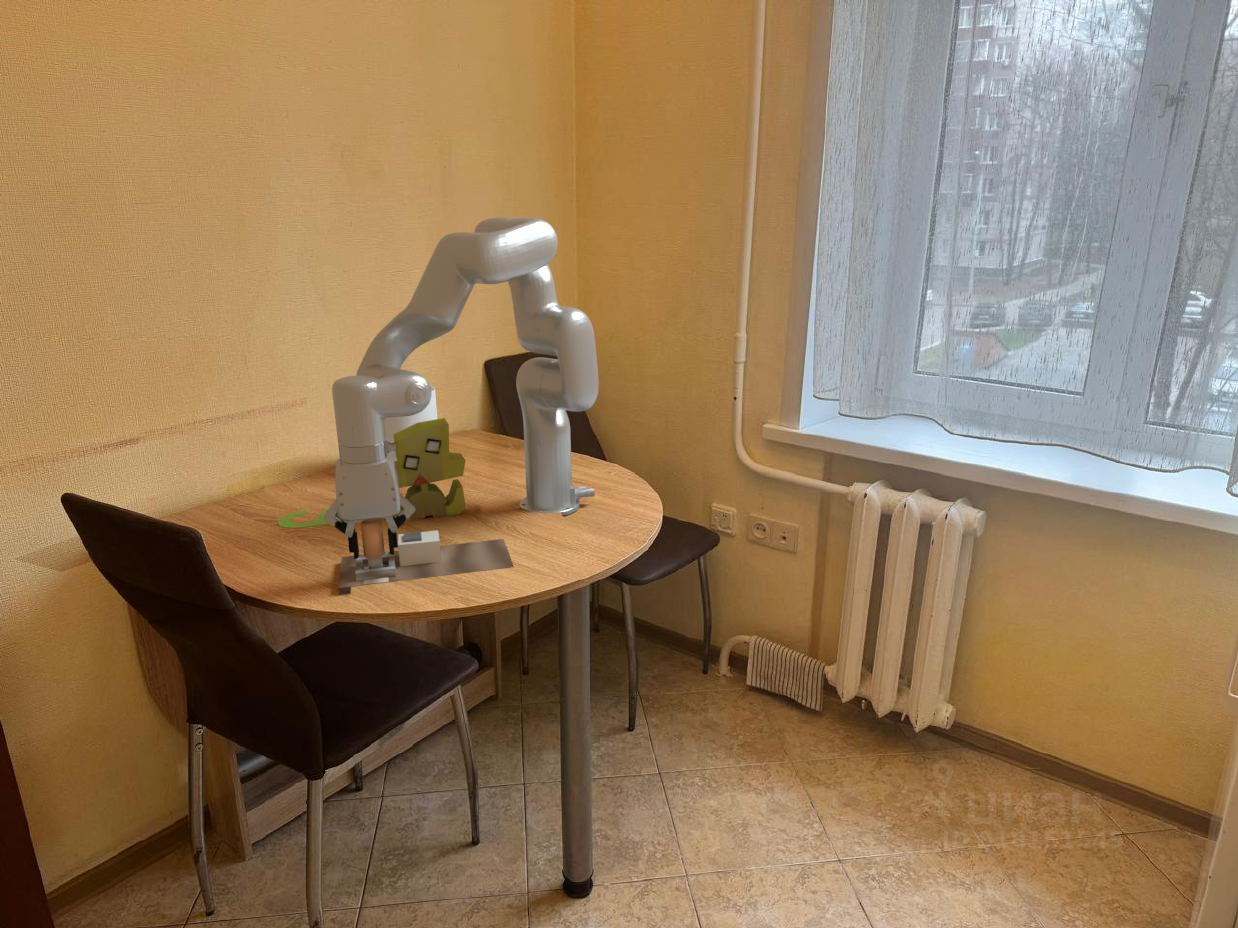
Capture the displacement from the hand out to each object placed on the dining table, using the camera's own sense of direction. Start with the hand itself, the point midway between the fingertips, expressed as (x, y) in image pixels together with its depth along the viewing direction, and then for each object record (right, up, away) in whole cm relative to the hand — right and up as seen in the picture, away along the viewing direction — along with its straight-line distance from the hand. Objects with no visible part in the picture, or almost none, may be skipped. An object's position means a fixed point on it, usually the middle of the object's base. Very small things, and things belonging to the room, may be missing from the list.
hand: (374, 552), depth 141 cm
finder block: (+6, -2, +6) cm, 9 cm away
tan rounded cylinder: (0, -3, +1) cm, 3 cm away
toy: (+3, +4, +28) cm, 28 cm away
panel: (+8, -3, +5) cm, 10 cm away
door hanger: (-15, +4, +30) cm, 34 cm away
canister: (-8, +13, +57) cm, 59 cm away
